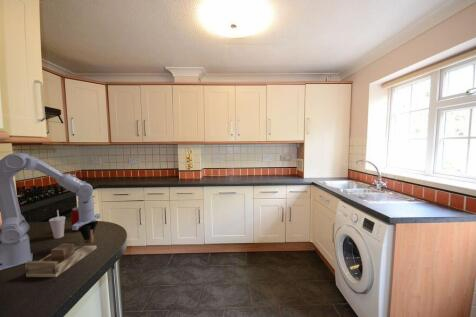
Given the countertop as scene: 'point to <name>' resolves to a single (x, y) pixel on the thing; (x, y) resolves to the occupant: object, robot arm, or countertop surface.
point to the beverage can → (75, 216)
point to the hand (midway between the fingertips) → (88, 238)
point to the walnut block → (67, 249)
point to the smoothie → (57, 226)
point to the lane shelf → (55, 263)
